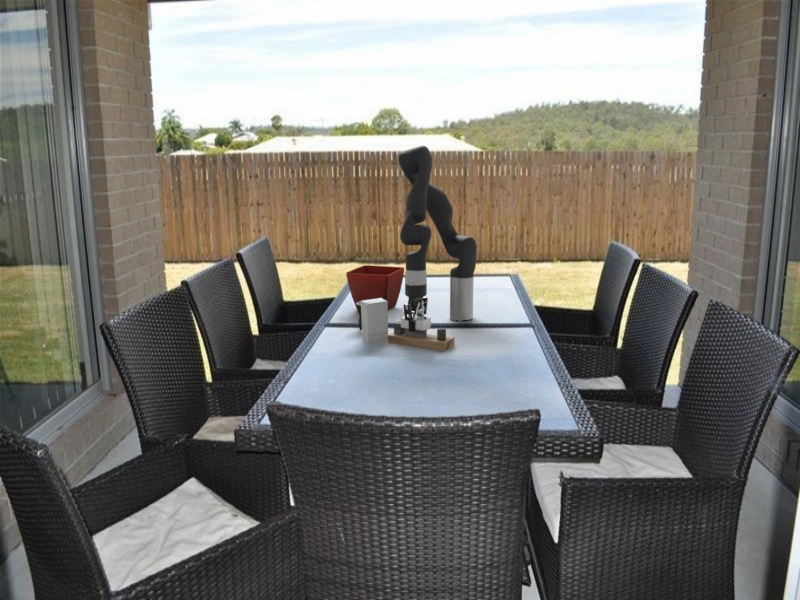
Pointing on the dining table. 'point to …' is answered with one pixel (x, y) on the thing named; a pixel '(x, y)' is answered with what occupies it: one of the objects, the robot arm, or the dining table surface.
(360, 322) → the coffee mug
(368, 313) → the skincare box
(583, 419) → the dining table surface
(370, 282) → the plant pot
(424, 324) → the lever cap
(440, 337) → the body
